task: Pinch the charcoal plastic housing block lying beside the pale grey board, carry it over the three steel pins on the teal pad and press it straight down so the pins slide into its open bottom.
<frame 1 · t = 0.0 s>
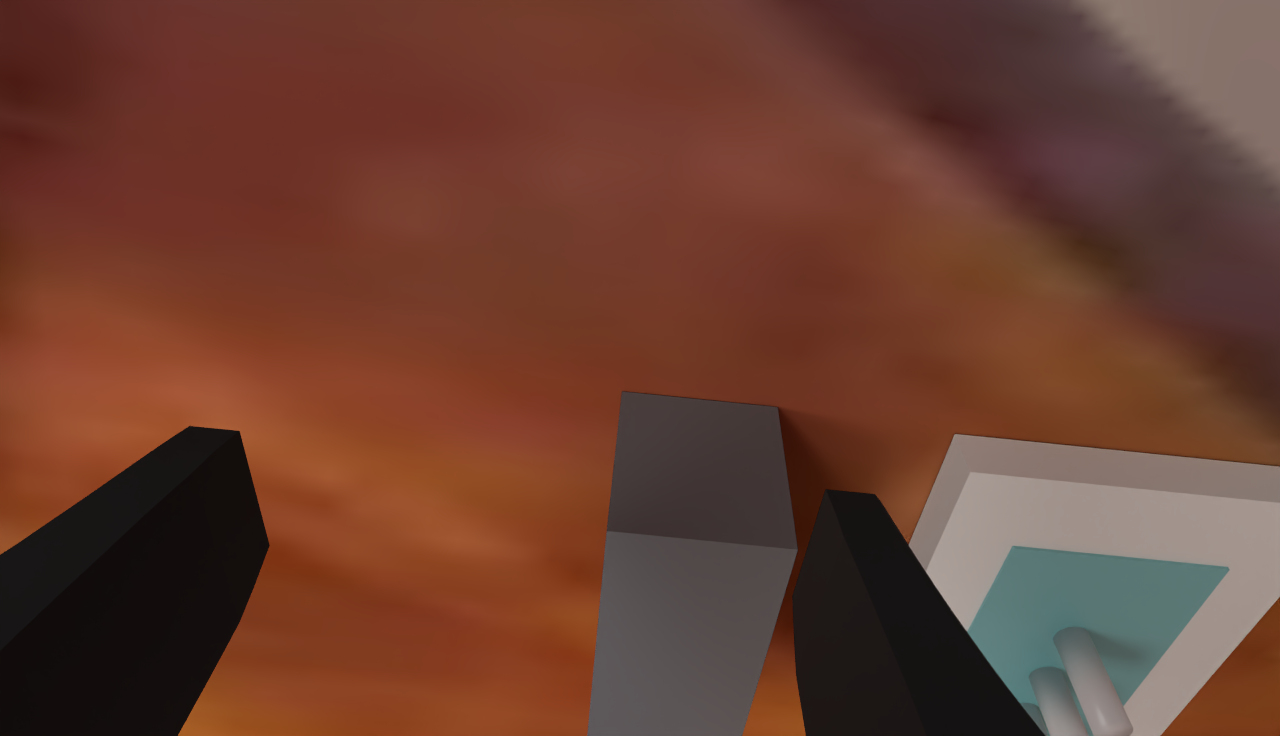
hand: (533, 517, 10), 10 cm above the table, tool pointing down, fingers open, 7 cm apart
pin board: (1028, 632, 27), on the table
housing: (680, 511, 24), on the table
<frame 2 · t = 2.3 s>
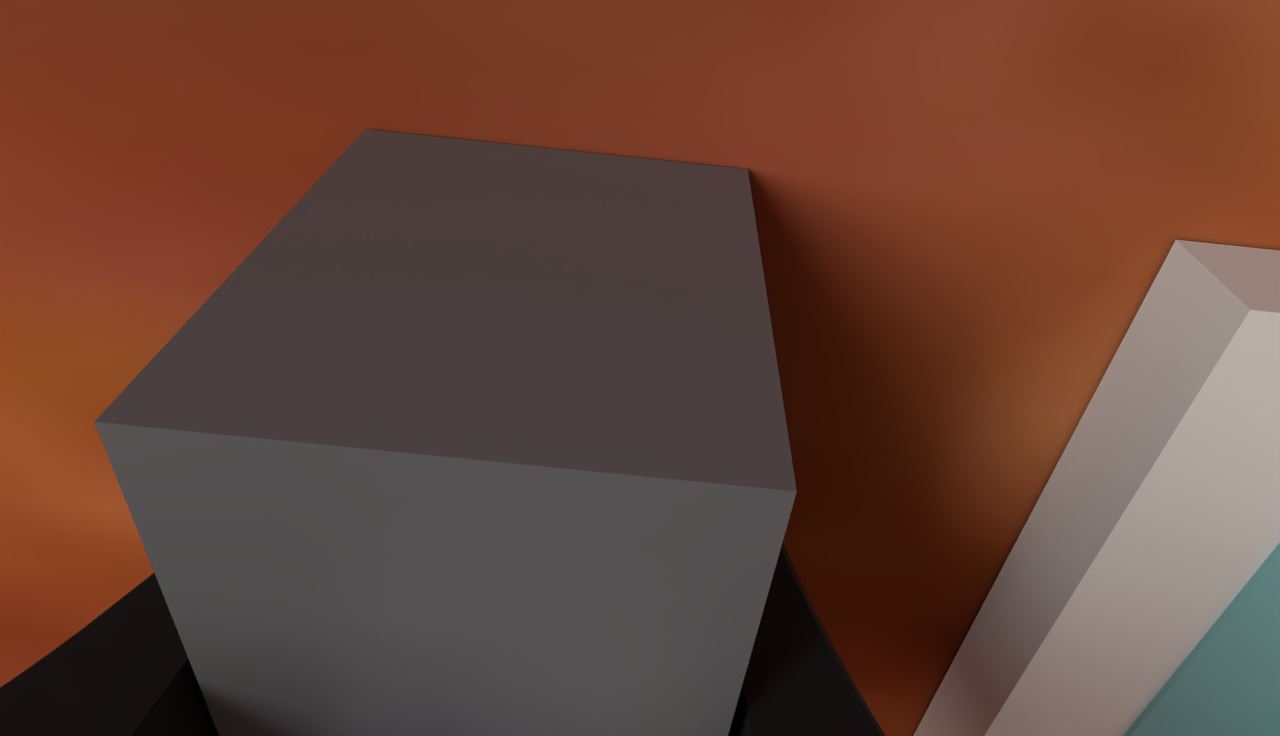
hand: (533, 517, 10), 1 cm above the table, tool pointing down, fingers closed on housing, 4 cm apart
pin board: (1241, 689, 14), on the table
housing: (548, 444, 11), on the table, touching gripper
when the fingers open (3 cm above the table, at t = 6.5 s): housing stays where it is, resting on pin board.
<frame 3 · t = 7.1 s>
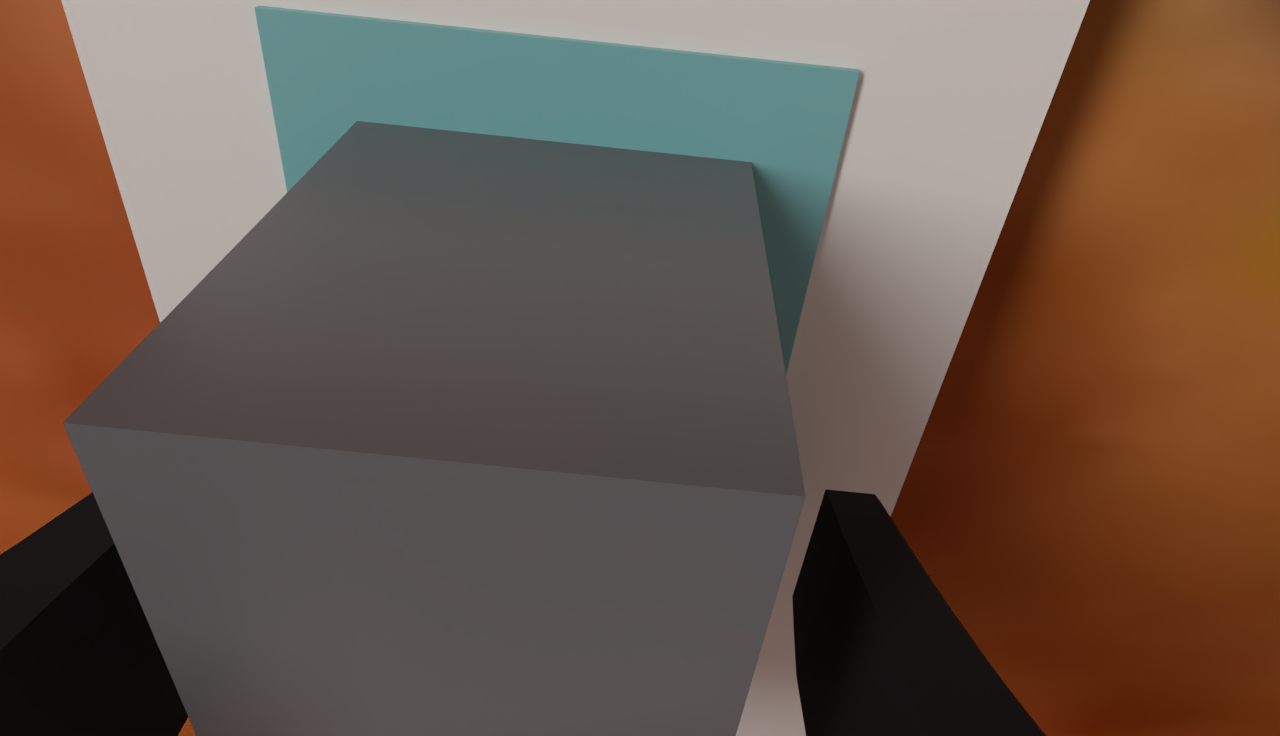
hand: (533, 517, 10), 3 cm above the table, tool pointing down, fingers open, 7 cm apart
pin board: (561, 384, 13), on the table
housing: (546, 445, 11), point 2 cm above the table, touching pin board
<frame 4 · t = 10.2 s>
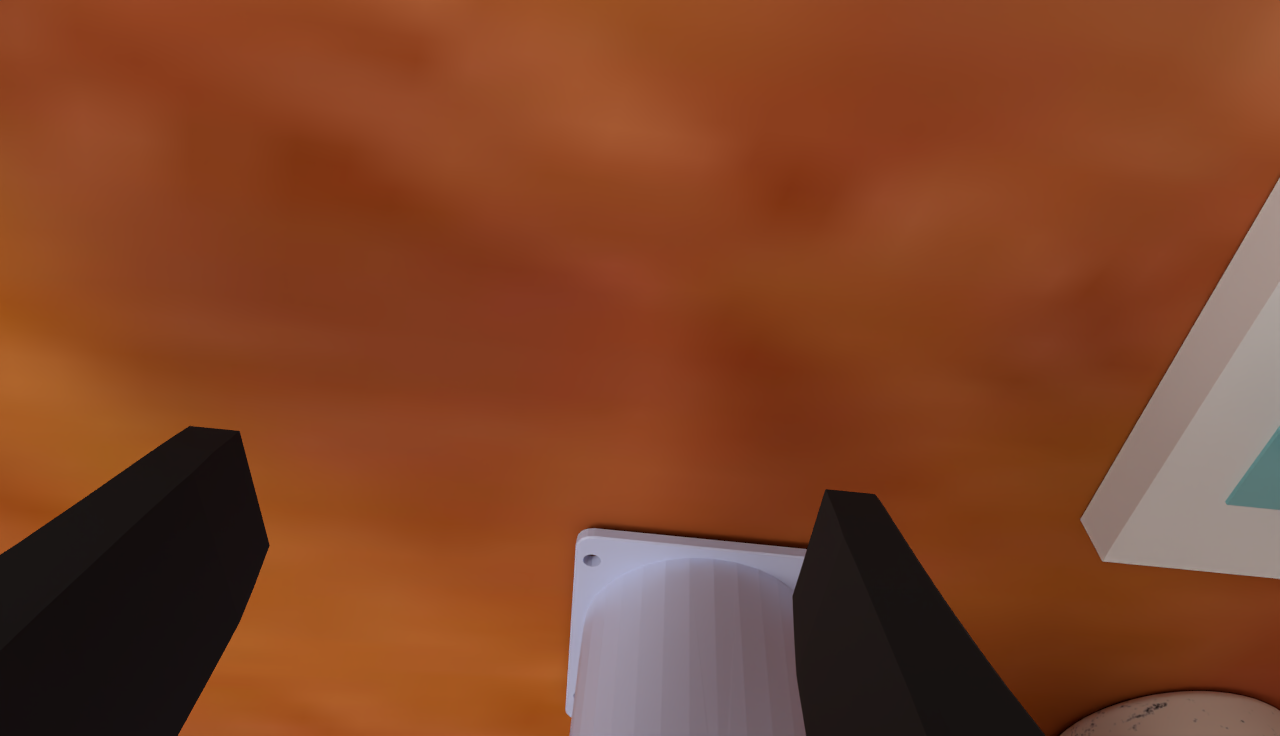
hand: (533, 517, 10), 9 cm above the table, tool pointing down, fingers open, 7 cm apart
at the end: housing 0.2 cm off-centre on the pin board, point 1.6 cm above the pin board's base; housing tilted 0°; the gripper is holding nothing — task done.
